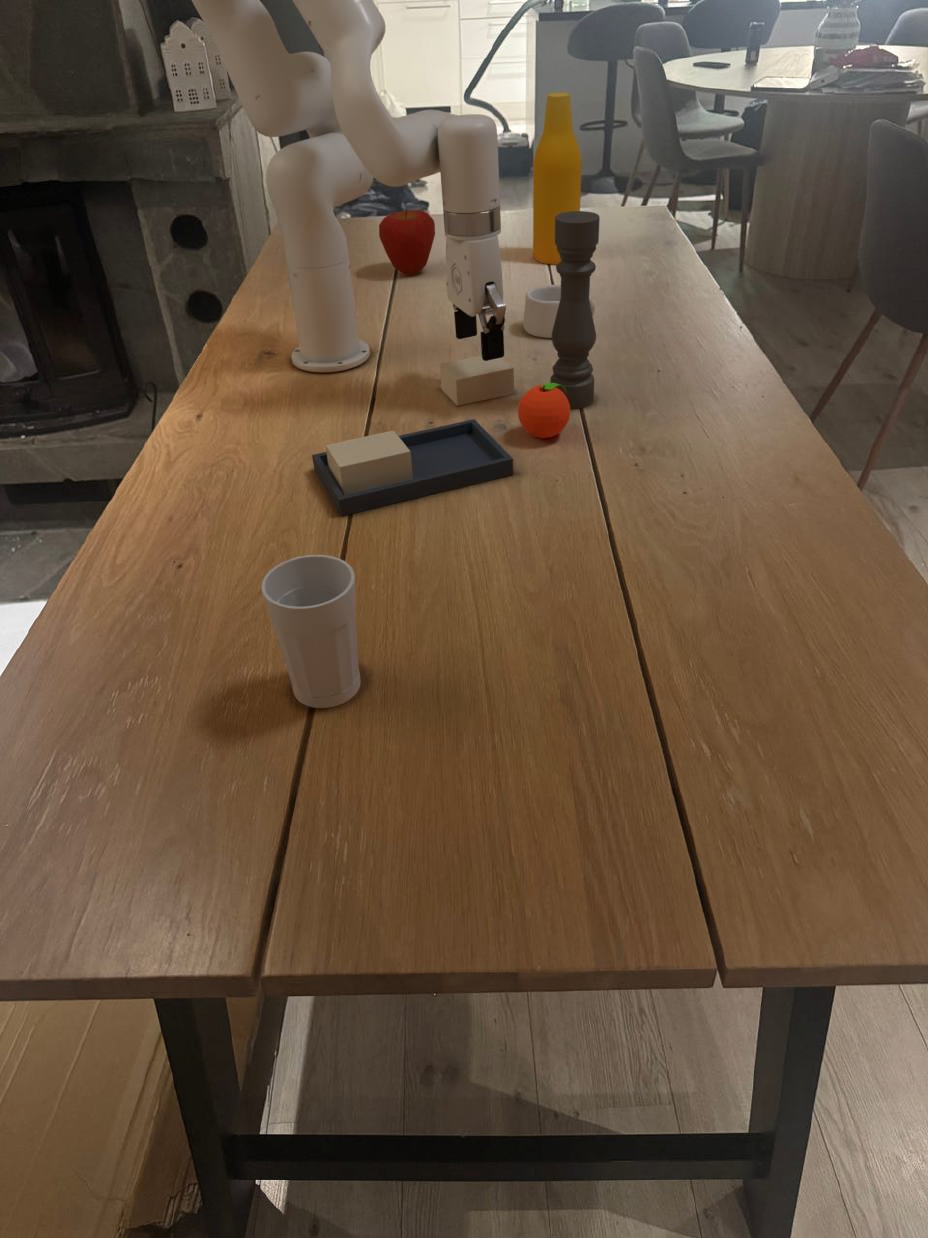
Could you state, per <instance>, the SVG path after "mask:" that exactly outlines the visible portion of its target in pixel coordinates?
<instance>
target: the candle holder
mask: <svg viewBox="0 0 928 1238" xmlns="http://www.w3.org/2000/svg"><path fill="white" fill-rule="evenodd" d="M599 240H600V214H598V213H596V212H593V211H587V210H586V211H585V210H580V211H570V212H564V213H561V214H558V215H557V216H555V245H557V251H558V253H559V254H560V258H561V261H560V262H559V263H558V264H555V269H556V272H557V273H558V274H559V277H560V285H561V298H560V302H559V306H558V310H557V314H556V318H555V322H554V326H553V330H552V338H551V341H552V346H553V348H554V349H555V351H556V352H557V353H556V355H557V358H558V359H557V360H556V362H555V363H554V365H552V373H553V374H552V375H551V376H550V383H557V384H560V385H559V386H556V388H558V389H559V390H561V391H562V392H563V393H564V394H565V396H566V397H567V399H568V402H569V404H570V410H579V409H584V408H587V407H589V406H591V405H593V404H592V403H594V400H595V399H594V397H595V395H594V394H595V375H594V374H593V372H594V367H593V365H592V363H591V362H590V359H588V357H589V356H590V351H591V350H592V349H593V347H594V345H595V343H596V340H597V332H596V327H595V322H594V315H593V316H592V311H591V305H590V300H589V298H590V289H591V288H590V287H591V277H592V274H593V273H594V272H595V271H596V269H597V268H596V267H597V266H596V263H595V262H594V261H592V258H593V256H594V253H595V252H596V250H597V245H598V244H599V243H600V241H599ZM561 385H563V386H564V387H565V388H566V392H567V394H566V392H565V390H564V388H563V387H562V386H561Z"/></svg>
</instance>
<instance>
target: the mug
mask: <svg viewBox="0 0 928 1238" xmlns="http://www.w3.org/2000/svg"><path fill="white" fill-rule="evenodd" d="M560 298H561V284H546V285H540V286H536V287H533V288H531V289H528V291H527V292H526V294H525V301H524V311H523V318H522V325H523V329H524V330H525V332H526V333H528V334H529V335H531V336H533V337H538V338H544V339H545V338H546V339H552V330H553V326H554V322H555V318H556V314H557V310H558V306H559V302H560ZM589 300H590V305H591V311H592V316H593V317H594V314H595V312H596V311H595V310H596V305H595V302H594V301H593V299H592V298H591V297H589Z"/></svg>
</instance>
